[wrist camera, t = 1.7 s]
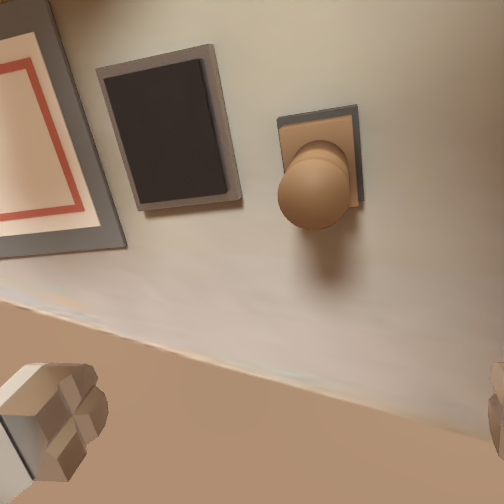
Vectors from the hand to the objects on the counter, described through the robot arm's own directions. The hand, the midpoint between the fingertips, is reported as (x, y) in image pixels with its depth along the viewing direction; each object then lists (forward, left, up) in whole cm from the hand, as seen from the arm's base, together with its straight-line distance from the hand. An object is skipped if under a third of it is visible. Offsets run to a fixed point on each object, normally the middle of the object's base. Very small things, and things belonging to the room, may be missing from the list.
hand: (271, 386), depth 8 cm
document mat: (-4, -24, -21) cm, 32 cm away
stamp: (0, 0, -22) cm, 22 cm away
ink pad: (-3, -10, -21) cm, 24 cm away
